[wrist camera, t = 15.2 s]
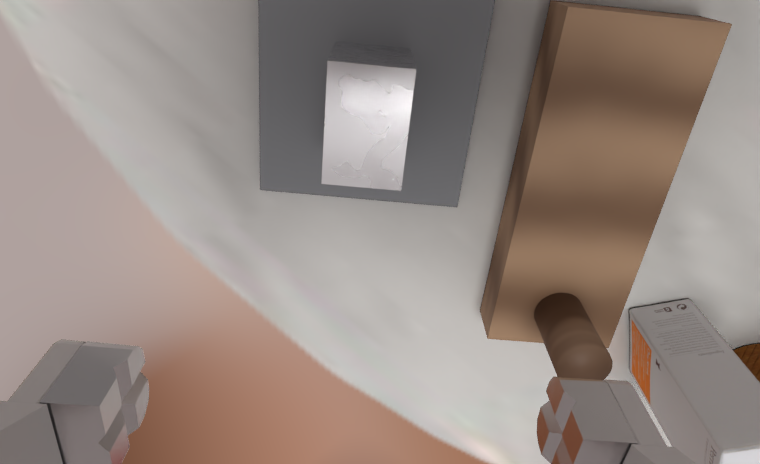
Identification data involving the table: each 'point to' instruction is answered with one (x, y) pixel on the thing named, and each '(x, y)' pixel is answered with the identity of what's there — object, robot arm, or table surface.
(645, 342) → the skincare box
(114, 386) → the robot arm
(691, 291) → the table surface
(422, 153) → the slate pad
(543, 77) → the walnut plane
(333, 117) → the white rectangular box
